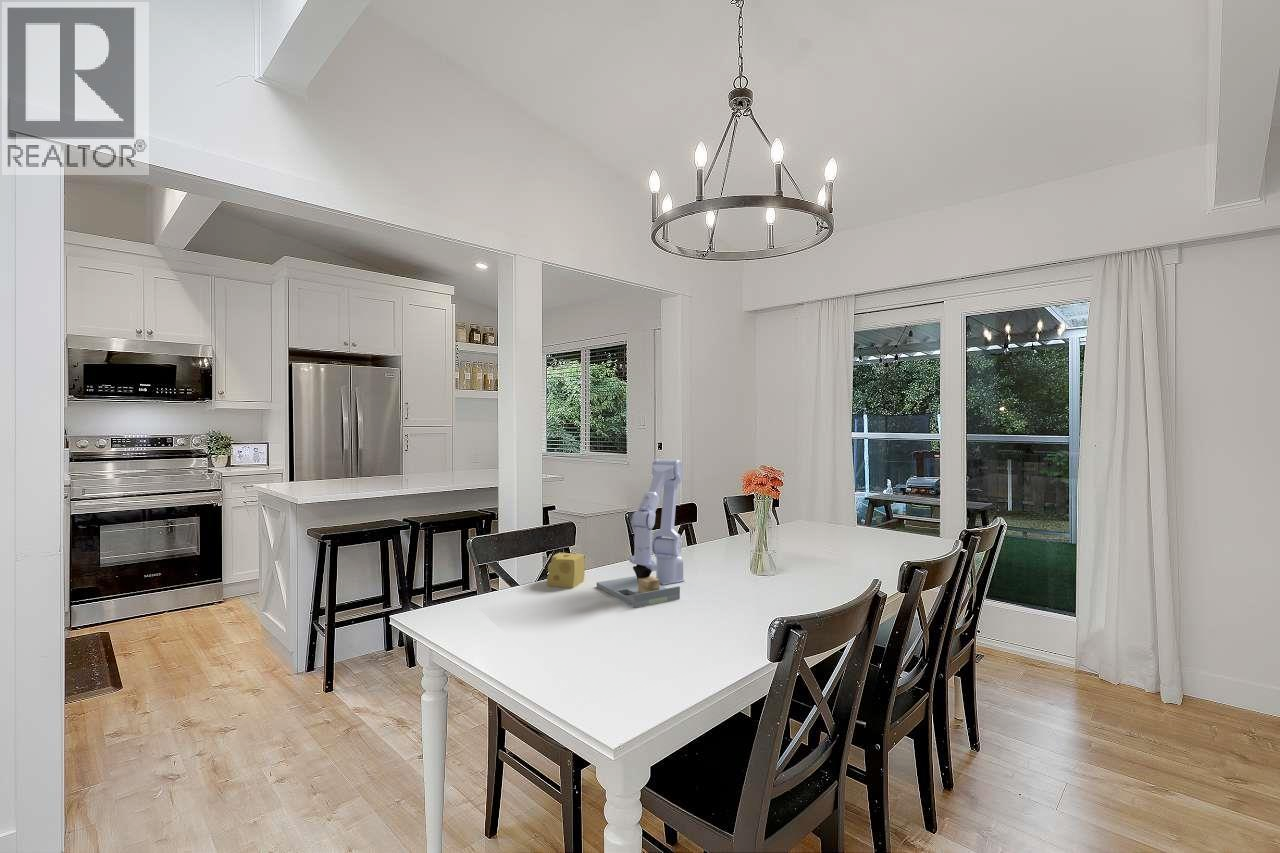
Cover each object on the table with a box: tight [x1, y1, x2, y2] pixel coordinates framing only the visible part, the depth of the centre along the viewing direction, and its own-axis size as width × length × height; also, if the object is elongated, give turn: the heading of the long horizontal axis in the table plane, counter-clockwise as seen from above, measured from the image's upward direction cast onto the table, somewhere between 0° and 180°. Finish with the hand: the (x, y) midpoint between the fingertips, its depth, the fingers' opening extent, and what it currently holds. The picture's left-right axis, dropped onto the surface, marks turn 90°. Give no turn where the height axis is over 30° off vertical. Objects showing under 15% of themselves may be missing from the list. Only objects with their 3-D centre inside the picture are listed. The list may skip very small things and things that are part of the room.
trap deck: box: [596, 575, 681, 608], centre depth 199 cm, size 17×26×4 cm, turn 32°
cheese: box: [546, 552, 586, 589], centre depth 210 cm, size 10×11×10 cm
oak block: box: [638, 575, 661, 594], centre depth 192 cm, size 5×5×5 cm
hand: (642, 587), depth 195 cm, fingers closed
